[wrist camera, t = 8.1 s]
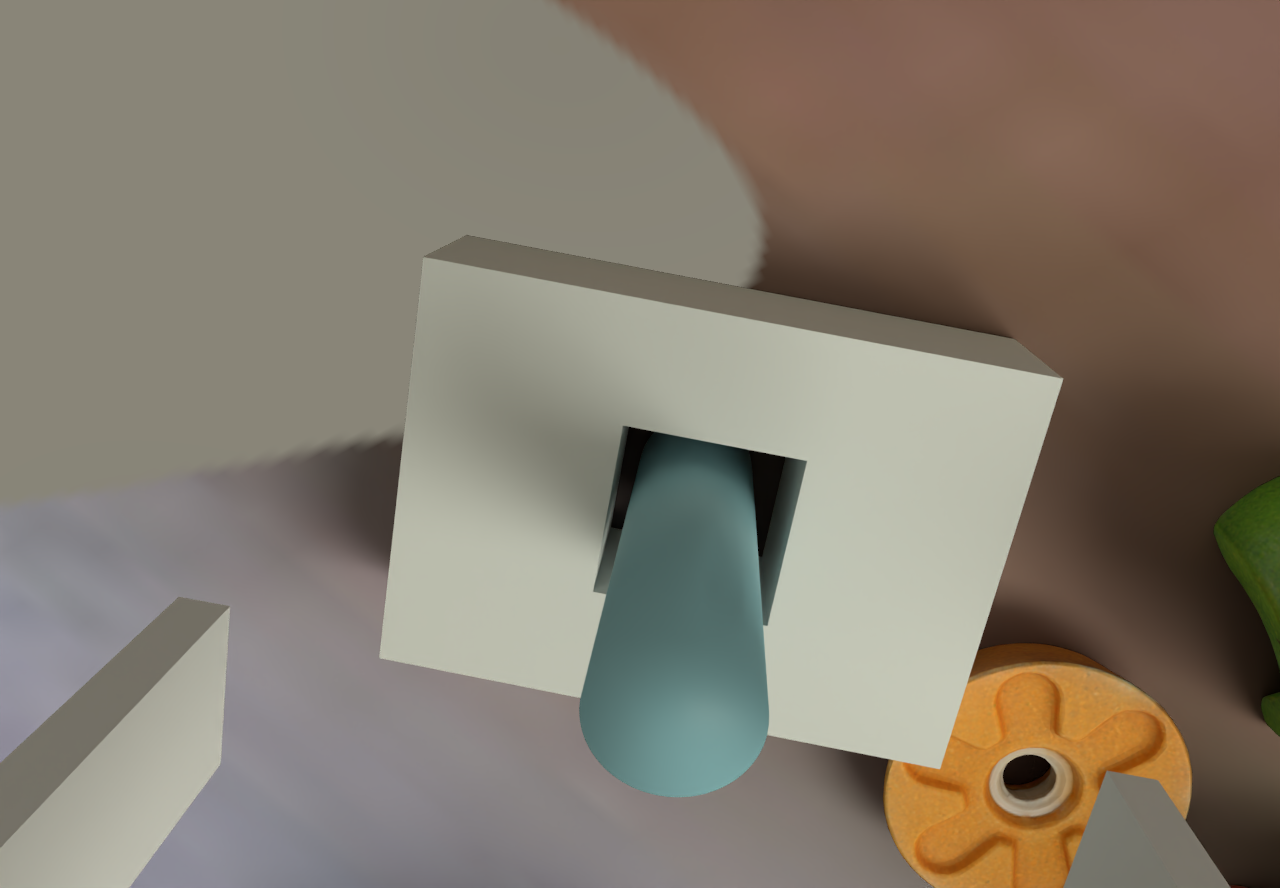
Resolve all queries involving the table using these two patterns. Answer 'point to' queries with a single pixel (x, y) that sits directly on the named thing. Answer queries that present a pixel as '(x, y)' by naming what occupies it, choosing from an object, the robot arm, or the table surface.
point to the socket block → (723, 414)
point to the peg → (681, 627)
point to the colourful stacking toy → (1059, 742)
